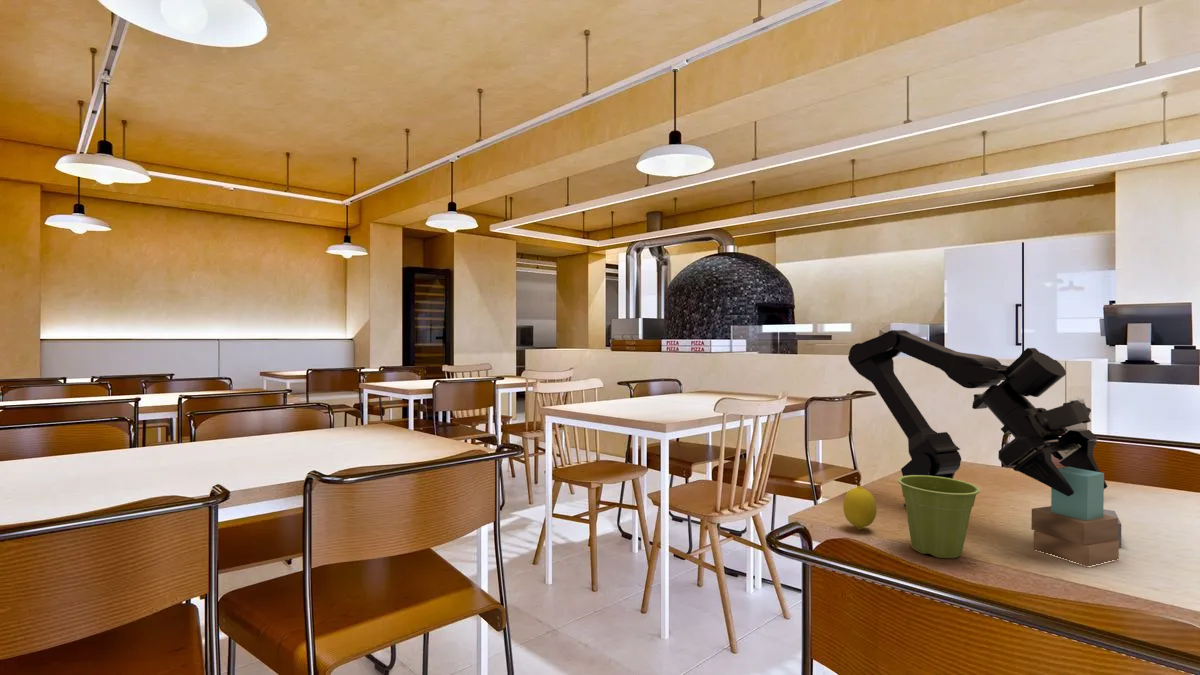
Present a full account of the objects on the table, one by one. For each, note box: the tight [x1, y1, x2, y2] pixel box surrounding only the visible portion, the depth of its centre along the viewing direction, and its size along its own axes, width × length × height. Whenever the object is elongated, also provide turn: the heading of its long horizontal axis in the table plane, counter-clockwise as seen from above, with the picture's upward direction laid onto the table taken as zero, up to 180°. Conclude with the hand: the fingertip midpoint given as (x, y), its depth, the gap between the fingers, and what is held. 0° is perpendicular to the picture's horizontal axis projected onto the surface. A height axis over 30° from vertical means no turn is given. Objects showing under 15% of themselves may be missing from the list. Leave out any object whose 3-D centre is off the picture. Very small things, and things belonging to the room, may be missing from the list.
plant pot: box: [897, 475, 981, 559], centre depth 98 cm, size 12×12×11 cm
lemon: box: [842, 485, 877, 530], centre depth 109 cm, size 6×6×8 cm
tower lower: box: [1033, 530, 1120, 566], centre depth 97 cm, size 8×8×4 cm
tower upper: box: [1030, 505, 1119, 546], centre depth 97 cm, size 8×8×4 cm
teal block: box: [1050, 466, 1105, 521], centre depth 96 cm, size 5×5×7 cm
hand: (1088, 491), depth 95 cm, fingers open, 9 cm apart
